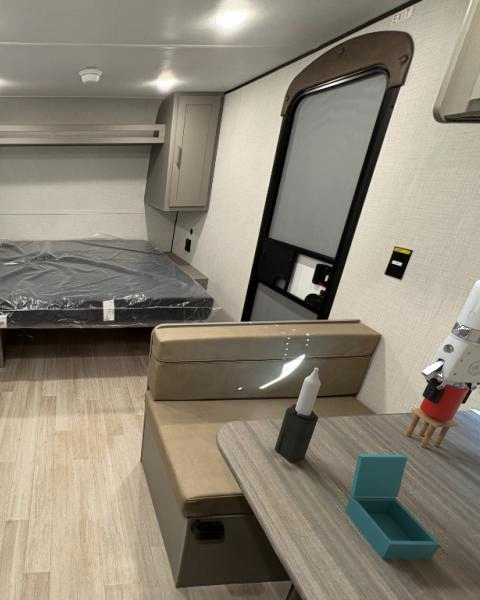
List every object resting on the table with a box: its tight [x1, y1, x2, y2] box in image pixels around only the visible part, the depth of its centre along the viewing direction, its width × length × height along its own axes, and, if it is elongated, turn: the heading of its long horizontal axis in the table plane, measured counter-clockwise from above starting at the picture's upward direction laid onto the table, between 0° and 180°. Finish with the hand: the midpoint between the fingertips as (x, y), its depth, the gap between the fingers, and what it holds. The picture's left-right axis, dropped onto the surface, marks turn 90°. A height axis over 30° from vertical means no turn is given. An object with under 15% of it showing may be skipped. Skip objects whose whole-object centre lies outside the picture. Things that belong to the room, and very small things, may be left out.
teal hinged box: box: [344, 496, 441, 560], centre depth 59 cm, size 9×9×5 cm
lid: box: [350, 453, 408, 498], centre depth 61 cm, size 9×9×1 cm
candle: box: [274, 367, 321, 465], centre depth 73 cm, size 5×5×25 cm
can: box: [419, 377, 470, 421], centre depth 77 cm, size 6×6×9 cm
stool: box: [405, 407, 460, 449], centre depth 80 cm, size 6×6×8 cm
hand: (443, 399), depth 77 cm, fingers closed on can, 5 cm apart
